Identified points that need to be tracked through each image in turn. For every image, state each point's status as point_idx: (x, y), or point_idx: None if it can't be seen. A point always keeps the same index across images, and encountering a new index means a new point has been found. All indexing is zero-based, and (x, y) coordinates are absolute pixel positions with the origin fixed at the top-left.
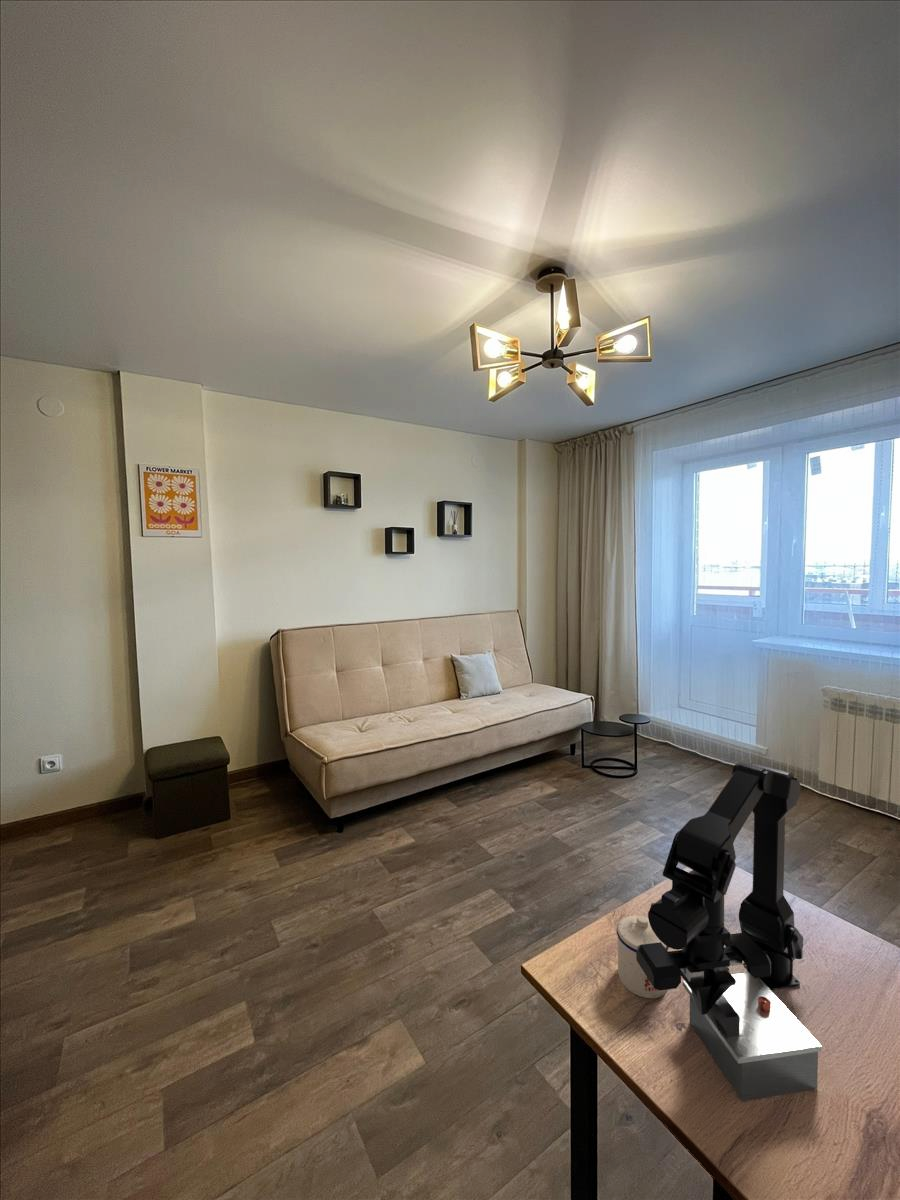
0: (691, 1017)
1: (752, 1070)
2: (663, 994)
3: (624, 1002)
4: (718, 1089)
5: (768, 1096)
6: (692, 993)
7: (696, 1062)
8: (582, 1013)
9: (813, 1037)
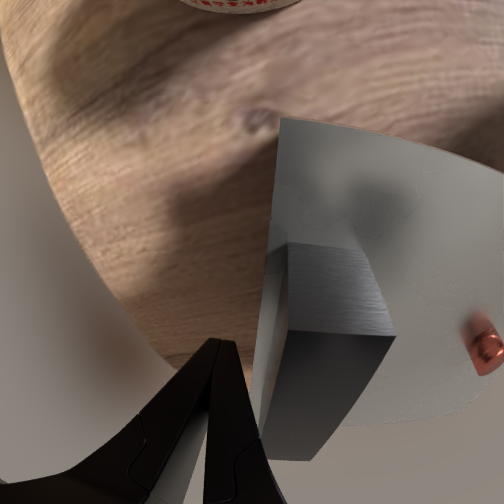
0: None
1: None
2: (280, 7)
3: (128, 22)
4: (242, 291)
5: None
6: (162, 391)
7: (232, 230)
8: (25, 69)
9: (470, 402)
